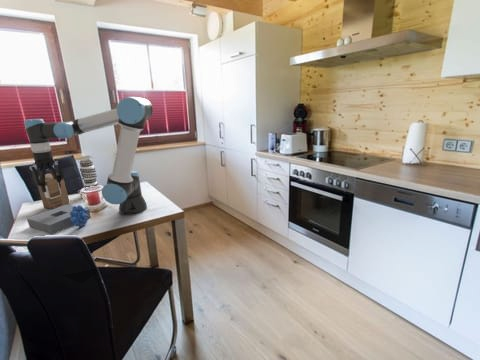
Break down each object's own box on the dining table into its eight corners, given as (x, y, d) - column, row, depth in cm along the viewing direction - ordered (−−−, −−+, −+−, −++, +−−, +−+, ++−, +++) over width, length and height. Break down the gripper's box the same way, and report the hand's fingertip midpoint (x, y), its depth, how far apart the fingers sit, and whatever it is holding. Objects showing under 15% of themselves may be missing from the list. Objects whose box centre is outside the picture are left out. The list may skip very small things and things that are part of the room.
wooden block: (70, 202, 164) (62, 172, 158) (58, 208, 154) (49, 177, 148) (56, 202, 165) (48, 173, 159) (43, 208, 155) (34, 177, 149)
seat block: (90, 217, 140) (88, 209, 139) (52, 234, 123) (49, 225, 122) (68, 212, 149) (66, 204, 147) (29, 227, 131) (26, 218, 130)
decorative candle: (82, 195, 176) (74, 160, 169) (94, 191, 184) (86, 157, 177) (92, 196, 173) (83, 161, 165) (103, 192, 181) (96, 158, 174)
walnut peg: (63, 204, 134) (57, 179, 130) (54, 208, 130) (47, 182, 126) (58, 203, 136) (51, 178, 132) (48, 206, 132) (41, 181, 128)
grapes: (82, 232, 124) (77, 209, 120) (69, 232, 124) (63, 210, 121) (96, 221, 135) (91, 200, 131) (84, 221, 135) (78, 200, 132)
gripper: (56, 147, 134) (66, 189, 140) (16, 154, 118) (30, 200, 125) (65, 148, 130) (75, 191, 137) (25, 155, 115) (38, 202, 122)
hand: (53, 195), depth 131 cm, fingers closed on walnut peg, 5 cm apart
